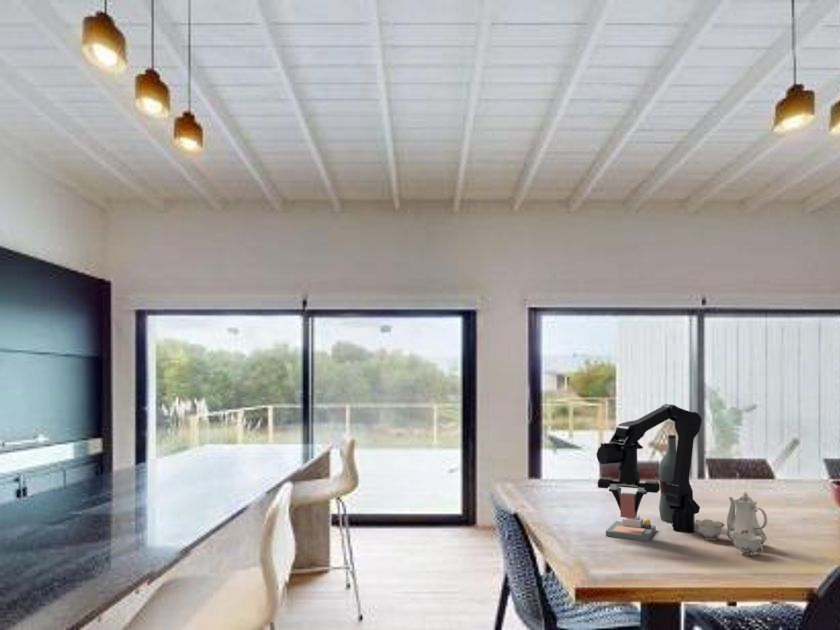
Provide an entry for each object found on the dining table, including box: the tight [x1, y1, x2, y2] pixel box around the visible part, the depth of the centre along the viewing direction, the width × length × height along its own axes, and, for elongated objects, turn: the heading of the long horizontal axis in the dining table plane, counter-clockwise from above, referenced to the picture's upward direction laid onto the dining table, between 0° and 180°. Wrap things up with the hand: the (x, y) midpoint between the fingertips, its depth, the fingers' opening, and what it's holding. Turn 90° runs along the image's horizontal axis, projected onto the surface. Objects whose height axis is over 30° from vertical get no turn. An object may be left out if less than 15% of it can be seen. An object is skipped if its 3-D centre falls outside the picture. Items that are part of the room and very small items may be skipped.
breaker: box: [626, 514, 641, 521], centre depth 230 cm, size 4×4×3 cm
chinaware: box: [695, 491, 768, 556], centre depth 212 cm, size 28×17×17 cm, turn 17°
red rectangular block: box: [619, 492, 638, 519], centre depth 224 cm, size 4×4×7 cm
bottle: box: [658, 434, 677, 524], centre depth 246 cm, size 9×9×30 cm
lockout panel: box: [605, 516, 657, 542], centre depth 227 cm, size 13×16×4 cm
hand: (628, 511), depth 223 cm, fingers closed on red rectangular block, 4 cm apart
